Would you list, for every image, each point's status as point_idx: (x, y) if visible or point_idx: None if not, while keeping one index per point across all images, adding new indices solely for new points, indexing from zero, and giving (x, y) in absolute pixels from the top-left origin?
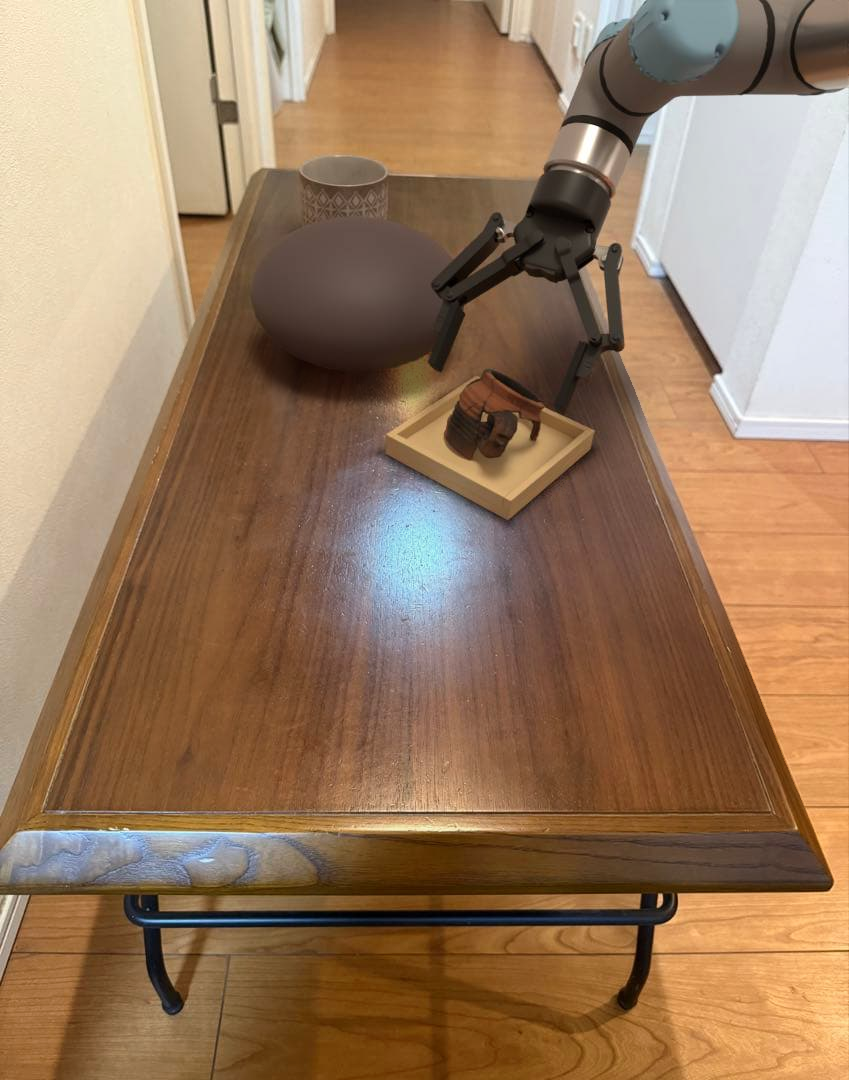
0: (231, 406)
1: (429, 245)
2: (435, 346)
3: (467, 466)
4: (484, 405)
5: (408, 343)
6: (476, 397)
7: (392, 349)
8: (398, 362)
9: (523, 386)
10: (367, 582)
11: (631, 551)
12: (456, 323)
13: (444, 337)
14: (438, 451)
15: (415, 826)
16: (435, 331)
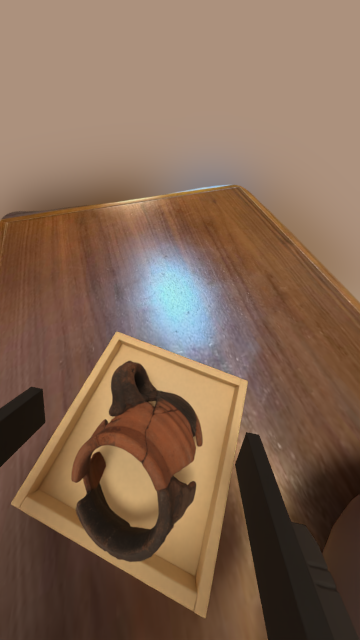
0: None
1: None
2: (267, 466)
3: (163, 382)
4: (153, 409)
5: (343, 569)
6: (167, 422)
7: (350, 530)
8: (326, 543)
9: (106, 543)
10: (192, 269)
11: (26, 339)
12: (273, 591)
13: (264, 491)
14: (195, 394)
15: (137, 199)
16: (299, 524)
